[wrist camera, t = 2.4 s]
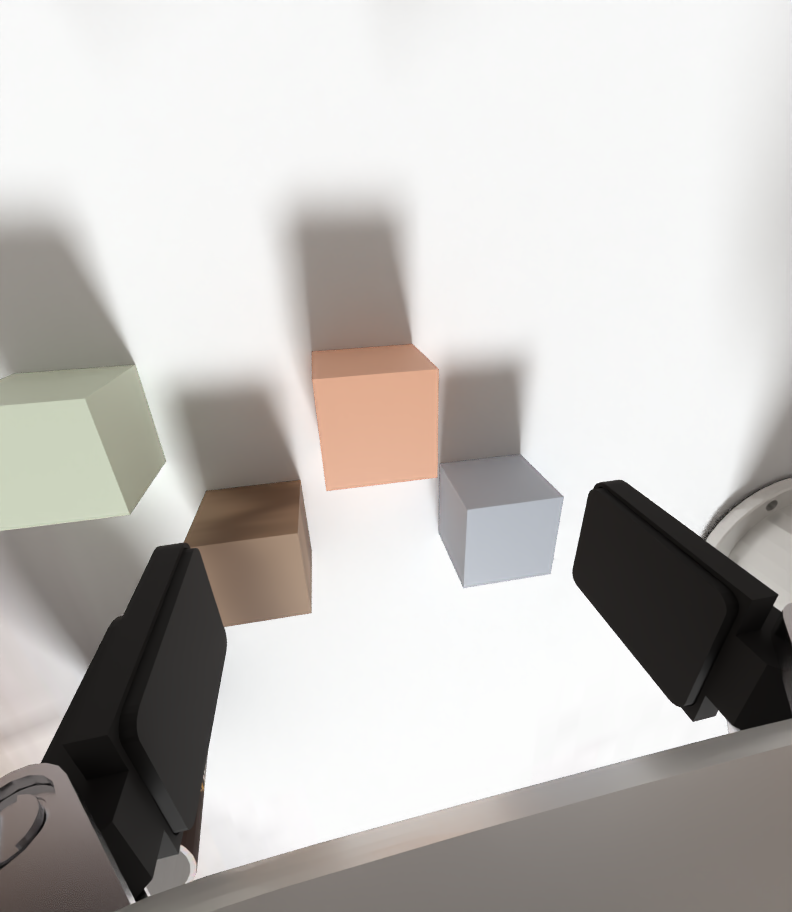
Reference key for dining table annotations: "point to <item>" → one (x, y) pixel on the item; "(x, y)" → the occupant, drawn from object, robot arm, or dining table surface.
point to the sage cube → (74, 446)
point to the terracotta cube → (376, 415)
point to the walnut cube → (255, 551)
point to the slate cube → (497, 519)
